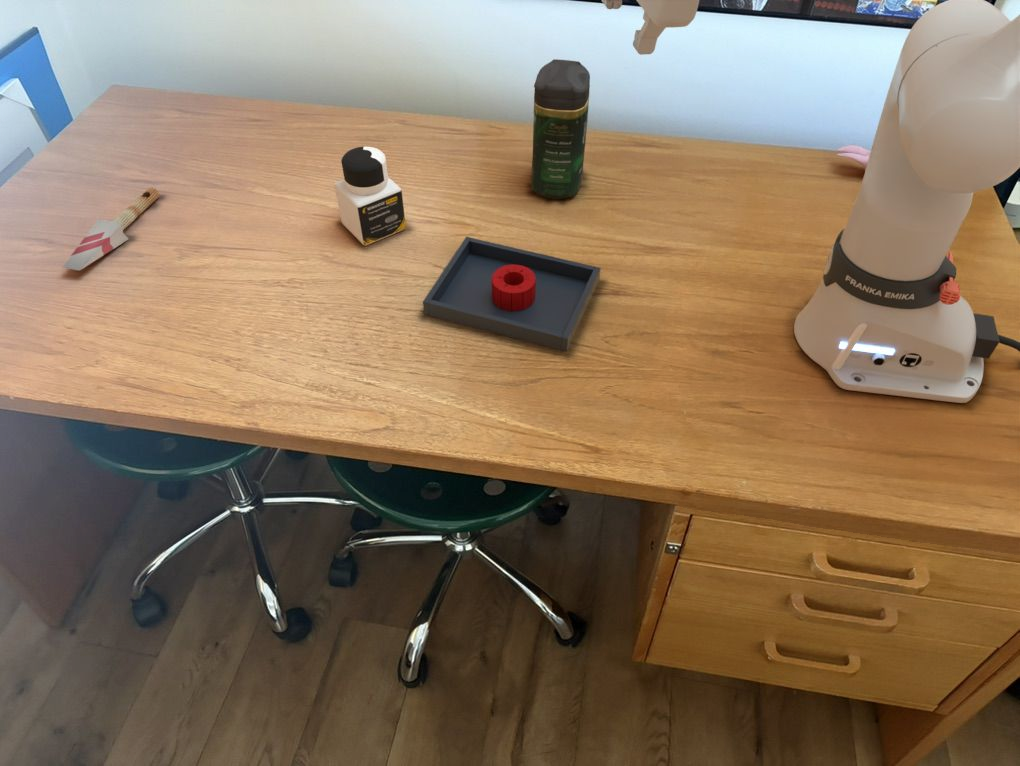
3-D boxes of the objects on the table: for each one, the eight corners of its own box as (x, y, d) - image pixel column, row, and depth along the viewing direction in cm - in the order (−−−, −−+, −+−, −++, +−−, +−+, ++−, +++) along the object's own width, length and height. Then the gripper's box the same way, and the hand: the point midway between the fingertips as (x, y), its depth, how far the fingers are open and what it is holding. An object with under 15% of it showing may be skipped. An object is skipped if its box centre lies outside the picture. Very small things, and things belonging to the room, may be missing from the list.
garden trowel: (54, 257, 108) (141, 182, 121) (62, 273, 110) (146, 198, 123) (78, 262, 107) (163, 186, 121) (86, 278, 109) (168, 202, 122)
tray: (599, 282, 109) (600, 267, 107) (566, 354, 100) (567, 339, 98) (466, 251, 113) (466, 236, 111) (424, 317, 104) (422, 301, 102)
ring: (540, 288, 107) (541, 270, 105) (526, 315, 104) (526, 297, 101) (501, 279, 109) (501, 260, 106) (485, 305, 105) (485, 286, 103)
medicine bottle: (364, 247, 114) (352, 175, 105) (340, 223, 118) (327, 151, 109) (407, 229, 117) (398, 157, 108) (382, 206, 121) (372, 135, 112)
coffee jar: (579, 203, 121) (587, 88, 107) (528, 199, 122) (530, 84, 108) (585, 168, 128) (594, 56, 114) (536, 164, 129) (539, 52, 115)
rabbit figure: (924, 181, 128) (833, 151, 129) (945, 149, 123) (851, 119, 124) (924, 202, 124) (830, 171, 125) (946, 171, 119) (848, 139, 120)
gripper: (740, -76, 66) (693, 79, 76) (650, -162, 78) (621, -17, 89) (671, -77, 64) (633, 82, 75) (590, -164, 76) (567, -17, 87)
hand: (626, 27), depth 82 cm, fingers open, 8 cm apart
